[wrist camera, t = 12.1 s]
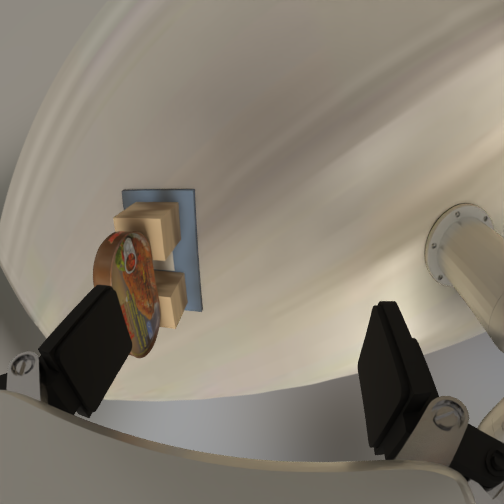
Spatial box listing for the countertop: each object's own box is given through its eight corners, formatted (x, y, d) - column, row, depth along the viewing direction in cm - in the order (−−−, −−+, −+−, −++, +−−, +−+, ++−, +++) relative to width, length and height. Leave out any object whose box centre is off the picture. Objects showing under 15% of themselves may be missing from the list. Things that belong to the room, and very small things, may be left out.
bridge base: (194, 189, 36) (177, 205, 30) (202, 309, 44) (191, 338, 38) (123, 189, 36) (97, 205, 30) (142, 302, 44) (124, 328, 38)
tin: (164, 327, 37) (142, 374, 30) (143, 324, 38) (118, 368, 30) (148, 219, 31) (109, 254, 23) (123, 218, 31) (81, 251, 23)
